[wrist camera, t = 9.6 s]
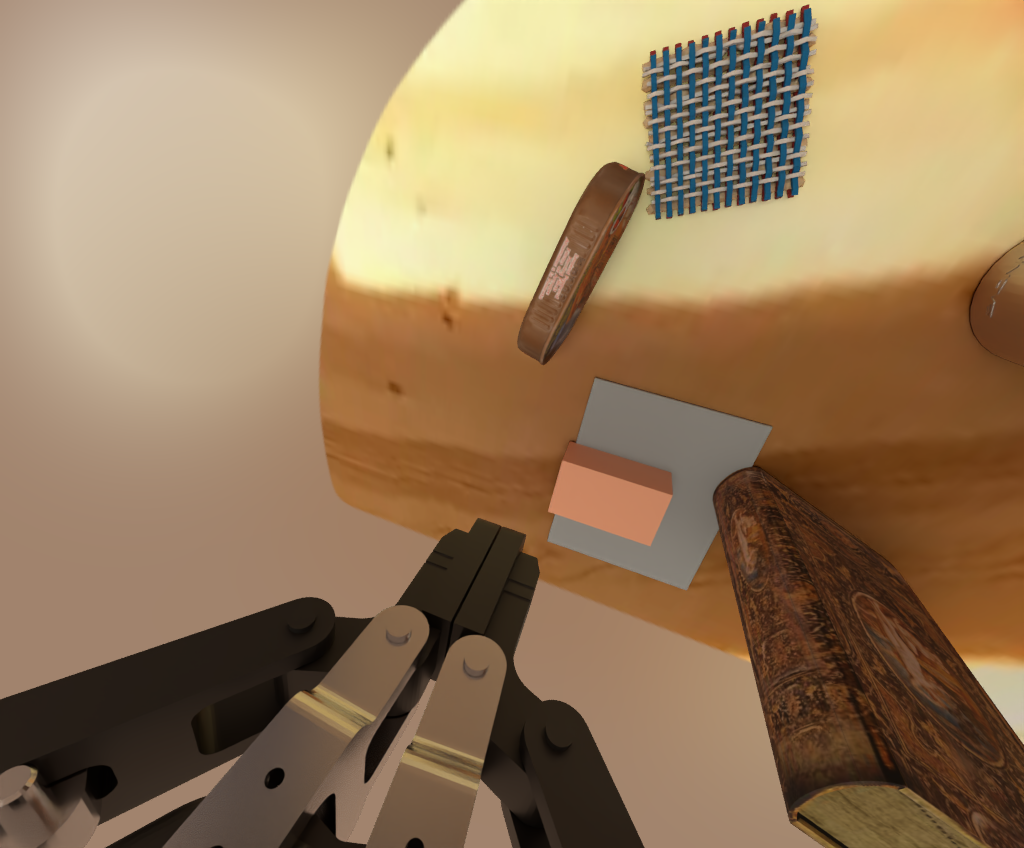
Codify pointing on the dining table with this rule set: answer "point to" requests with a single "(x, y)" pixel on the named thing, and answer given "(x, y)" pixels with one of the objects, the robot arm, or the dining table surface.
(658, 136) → the woven mat
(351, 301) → the dining table surface
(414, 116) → the dining table surface
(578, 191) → the dining table surface
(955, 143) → the dining table surface
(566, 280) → the tin
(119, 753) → the robot arm
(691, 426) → the slate pad
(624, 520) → the terracotta block
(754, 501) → the book
